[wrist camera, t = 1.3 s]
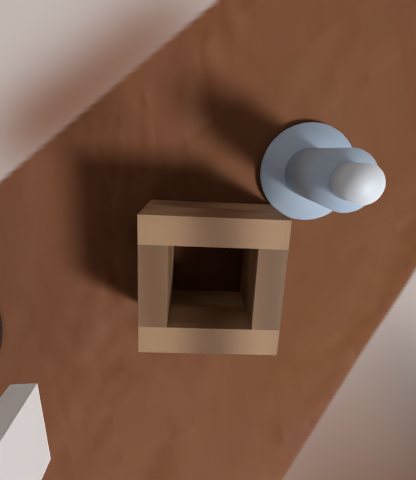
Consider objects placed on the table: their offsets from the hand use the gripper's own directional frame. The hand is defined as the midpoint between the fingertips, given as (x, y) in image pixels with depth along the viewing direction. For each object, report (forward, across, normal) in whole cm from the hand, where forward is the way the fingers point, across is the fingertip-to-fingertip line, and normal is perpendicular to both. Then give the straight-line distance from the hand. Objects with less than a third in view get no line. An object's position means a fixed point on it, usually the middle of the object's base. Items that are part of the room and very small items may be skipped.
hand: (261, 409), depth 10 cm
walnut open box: (+17, -1, -1) cm, 17 cm away
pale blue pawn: (+17, +7, +6) cm, 19 cm away
